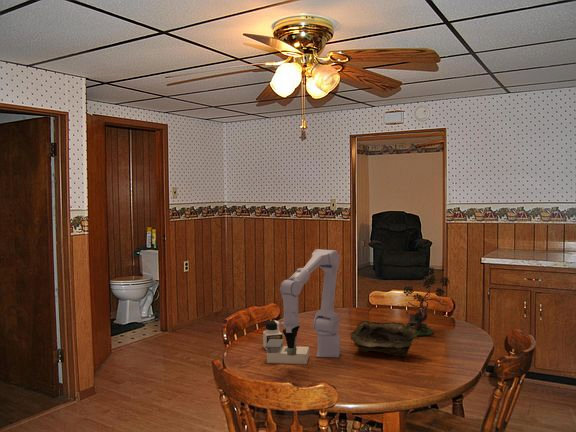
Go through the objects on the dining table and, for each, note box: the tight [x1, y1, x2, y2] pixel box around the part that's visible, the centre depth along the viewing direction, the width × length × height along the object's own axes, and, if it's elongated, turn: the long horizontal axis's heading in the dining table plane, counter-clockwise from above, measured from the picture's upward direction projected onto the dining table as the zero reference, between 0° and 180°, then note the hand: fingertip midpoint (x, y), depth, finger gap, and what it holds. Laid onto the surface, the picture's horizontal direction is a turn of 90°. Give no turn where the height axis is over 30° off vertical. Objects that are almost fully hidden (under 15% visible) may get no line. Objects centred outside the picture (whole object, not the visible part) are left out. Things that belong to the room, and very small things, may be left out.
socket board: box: [264, 338, 310, 365], centre depth 207 cm, size 16×11×7 cm, turn 82°
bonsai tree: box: [403, 266, 451, 337], centre depth 248 cm, size 35×24×32 cm
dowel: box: [286, 337, 297, 356], centre depth 195 cm, size 4×4×8 cm
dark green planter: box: [350, 320, 419, 358], centre depth 214 cm, size 28×13×15 cm
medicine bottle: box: [262, 319, 284, 352], centre depth 223 cm, size 7×7×12 cm
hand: (291, 346), depth 195 cm, fingers closed on dowel, 3 cm apart
